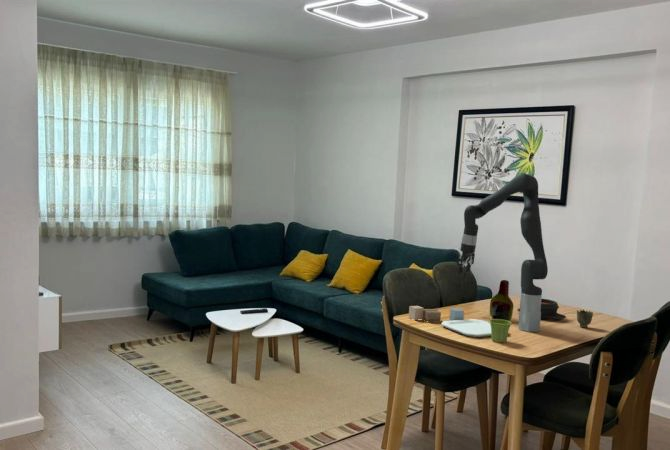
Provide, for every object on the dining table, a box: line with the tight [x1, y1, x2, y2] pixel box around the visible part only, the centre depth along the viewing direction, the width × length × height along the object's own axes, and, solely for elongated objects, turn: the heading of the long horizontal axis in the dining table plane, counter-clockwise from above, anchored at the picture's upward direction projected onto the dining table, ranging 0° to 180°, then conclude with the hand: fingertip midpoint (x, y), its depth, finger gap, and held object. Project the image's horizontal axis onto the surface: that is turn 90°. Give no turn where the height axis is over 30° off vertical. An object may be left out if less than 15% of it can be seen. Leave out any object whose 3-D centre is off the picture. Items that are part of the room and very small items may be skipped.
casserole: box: [516, 298, 567, 320], centre depth 316 cm, size 25×19×8 cm
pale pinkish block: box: [408, 305, 425, 321], centre depth 295 cm, size 5×5×6 cm
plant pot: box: [488, 318, 512, 344], centre depth 262 cm, size 9×9×9 cm
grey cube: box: [449, 308, 465, 321], centre depth 295 cm, size 5×5×6 cm
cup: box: [576, 309, 594, 329], centre depth 297 cm, size 8×7×8 cm
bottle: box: [489, 279, 514, 321], centre depth 304 cm, size 12×6×20 cm, turn 46°
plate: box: [441, 318, 492, 338], centre depth 280 cm, size 25×25×2 cm
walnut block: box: [423, 308, 442, 323], centre depth 294 cm, size 7×7×5 cm
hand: (463, 273), depth 319 cm, fingers open, 8 cm apart
